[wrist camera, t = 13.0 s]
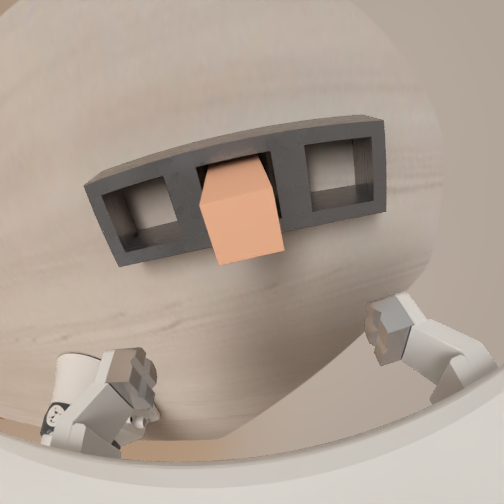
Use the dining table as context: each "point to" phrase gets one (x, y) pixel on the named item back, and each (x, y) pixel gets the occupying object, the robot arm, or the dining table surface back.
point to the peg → (240, 210)
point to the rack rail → (232, 146)
